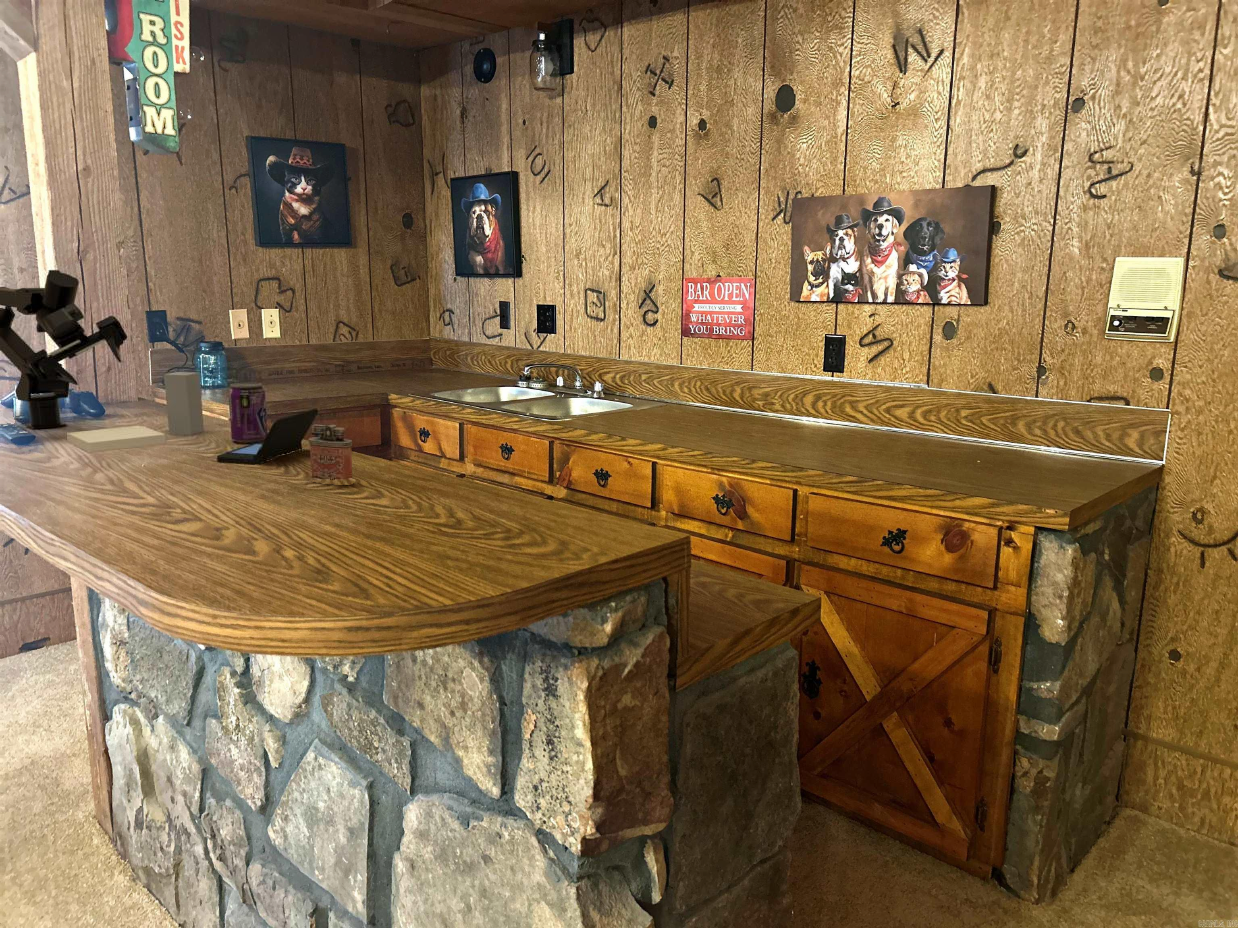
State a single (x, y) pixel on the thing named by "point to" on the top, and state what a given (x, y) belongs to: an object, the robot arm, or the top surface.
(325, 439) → the lighter
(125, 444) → the slab
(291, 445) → the game console
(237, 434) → the beverage can
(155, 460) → the top surface
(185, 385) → the tall block
